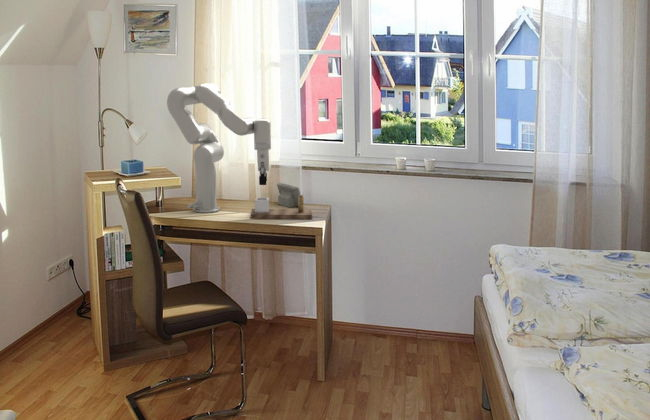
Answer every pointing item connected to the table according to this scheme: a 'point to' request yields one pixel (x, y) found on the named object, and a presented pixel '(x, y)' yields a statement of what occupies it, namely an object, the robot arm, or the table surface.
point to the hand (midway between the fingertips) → (263, 183)
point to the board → (285, 212)
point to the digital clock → (288, 194)
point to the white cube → (261, 205)
